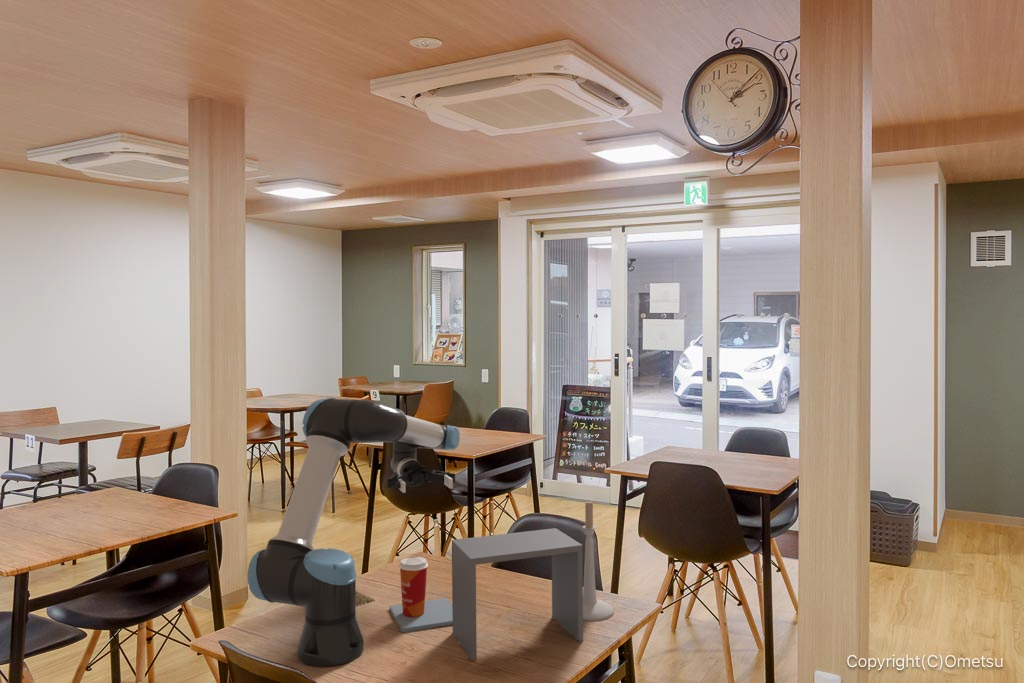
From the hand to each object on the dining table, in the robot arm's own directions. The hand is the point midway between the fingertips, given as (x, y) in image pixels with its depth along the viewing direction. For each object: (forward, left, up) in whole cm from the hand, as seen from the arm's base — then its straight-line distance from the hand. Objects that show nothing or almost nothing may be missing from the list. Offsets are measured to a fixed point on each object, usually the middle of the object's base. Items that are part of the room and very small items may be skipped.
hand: (428, 486), depth 206 cm
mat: (-4, -12, -32) cm, 34 cm away
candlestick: (+38, -25, -32) cm, 56 cm away
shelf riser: (+14, -33, -32) cm, 48 cm away
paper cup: (-7, -11, -31) cm, 34 cm away
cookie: (-22, +7, -33) cm, 40 cm away
